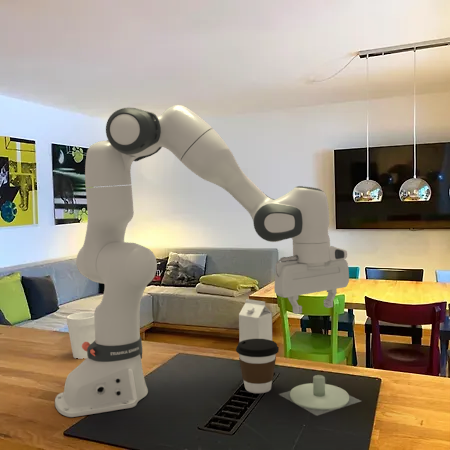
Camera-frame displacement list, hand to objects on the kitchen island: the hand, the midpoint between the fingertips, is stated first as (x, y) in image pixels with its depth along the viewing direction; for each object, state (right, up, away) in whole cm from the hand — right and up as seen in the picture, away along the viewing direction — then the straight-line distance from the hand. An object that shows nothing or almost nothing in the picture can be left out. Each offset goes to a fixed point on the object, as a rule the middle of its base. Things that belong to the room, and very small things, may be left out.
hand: (313, 310), depth 114 cm
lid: (+1, -21, 0) cm, 21 cm away
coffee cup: (-13, -22, +6) cm, 26 cm away
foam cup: (-67, -22, +37) cm, 80 cm away
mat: (+1, -22, 0) cm, 22 cm away
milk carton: (-12, -21, +27) cm, 36 cm away
